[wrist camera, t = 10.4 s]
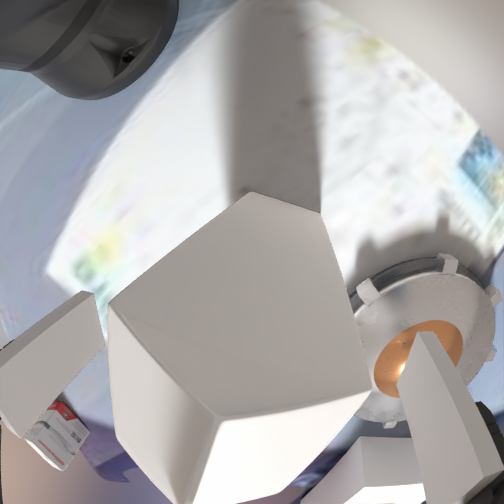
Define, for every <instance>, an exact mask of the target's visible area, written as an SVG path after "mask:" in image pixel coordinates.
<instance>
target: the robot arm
mask: <svg viewBox="0 0 504 504" xmlns="http://www.w3.org/2000/svg"><path fill="white" fill-rule="evenodd" d="M177 12H178V4H177V0H0V69H7V70H17V71H24V72H30V73H31V74H33V75H34V76H36V77H37V78H39V79H40V80H41V81H43V82H44V83H46V84H47V85H49V86H50V87H51V88H53V89H55V90H56V91H57V92H59V93H60V94H62V95H64V96H67V97H70V98H76V99H83V100H97V99H102V98H106V97H109V96H111V95H113V94H116V93H118V92H119V91H121V90H123V89H125V88H126V87H128V86H129V85H130V84H132V83H133V82H134V81H136V80H137V79H138V78H139V77H140V76H141V75H143V74H144V73H145V72H146V71H147V70H148V68H149V67H150V66H151V65H152V64H153V63H154V62H155V60H156V59H157V58H158V56H159V55H160V54H161V52H162V51H163V49H164V48H165V46H166V44H167V42H168V41H169V39H170V36H171V34H172V32H173V29H174V26H175V23H176V19H177ZM104 346H105V341H104V337H103V333H102V329H101V325H100V320H99V316H98V311H97V306H96V301H95V296H94V293H90V292H86V291H80V292H79V293H77V294H76V295H74V296H73V297H72V298H70V299H69V300H67V301H66V302H65V303H63V304H62V305H60V306H59V307H58V308H56V309H55V310H53V311H52V312H51V313H49V314H48V315H47V316H45V317H44V318H42V319H41V320H40V321H38V322H37V323H36V324H34V325H33V326H32V327H30V328H29V329H28V330H26V331H25V332H24V333H23V334H21V335H20V336H19V337H17V338H16V339H14V340H12V341H10V342H9V343H8V344H7V345H5V346H4V347H3V349H0V420H1V419H2V420H3V422H4V423H5V424H6V426H7V428H8V429H9V430H10V431H12V432H13V433H14V434H15V435H17V436H18V437H19V438H22V437H23V435H24V434H25V433H26V432H27V431H28V430H29V428H30V427H31V426H32V425H33V424H34V423H35V422H36V420H37V419H38V418H39V417H40V416H41V415H42V414H43V412H44V411H45V410H46V409H47V408H48V407H49V406H50V405H51V403H52V402H53V401H54V400H55V399H56V398H57V397H58V396H59V395H60V393H61V392H62V391H63V390H64V389H65V388H66V387H67V386H68V385H69V384H70V382H71V381H72V380H73V379H74V378H75V377H76V376H77V375H78V374H79V373H80V372H81V371H82V370H83V368H84V367H85V366H86V365H87V364H88V363H89V362H90V361H91V360H92V359H93V358H94V357H95V356H96V355H97V354H98V353H99V352H100V350H101V349H102V348H103V347H104ZM396 386H397V389H398V392H399V395H400V398H401V401H402V405H403V408H404V411H405V415H406V418H407V422H408V425H409V429H410V433H411V436H412V440H413V444H414V448H415V452H416V456H417V460H418V464H419V469H420V473H421V478H422V482H423V487H424V492H425V497H426V503H427V504H504V437H503V435H502V433H500V429H499V427H498V425H497V424H496V421H495V419H494V417H493V415H492V413H491V411H490V410H489V409H488V408H487V407H486V406H485V405H484V404H483V403H482V402H481V401H480V402H474V400H473V398H472V396H471V394H470V392H469V391H468V389H467V387H466V385H465V383H464V381H463V380H462V378H461V376H460V374H459V373H458V371H457V369H456V367H455V366H454V364H453V362H452V360H451V359H450V357H449V355H448V354H447V352H446V350H445V349H444V347H443V346H442V344H441V342H440V341H439V339H438V338H437V336H436V334H435V333H434V332H432V331H417V334H416V337H415V339H414V342H413V345H412V348H411V350H410V353H409V356H408V358H407V361H406V363H405V366H404V368H403V370H402V373H401V375H400V378H399V380H398V382H397V384H396ZM0 452H1V425H0ZM0 455H1V453H0ZM0 459H1V456H0ZM0 461H1V460H0ZM0 464H1V462H0ZM0 504H3V501H2V488H1V465H0Z"/></svg>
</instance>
